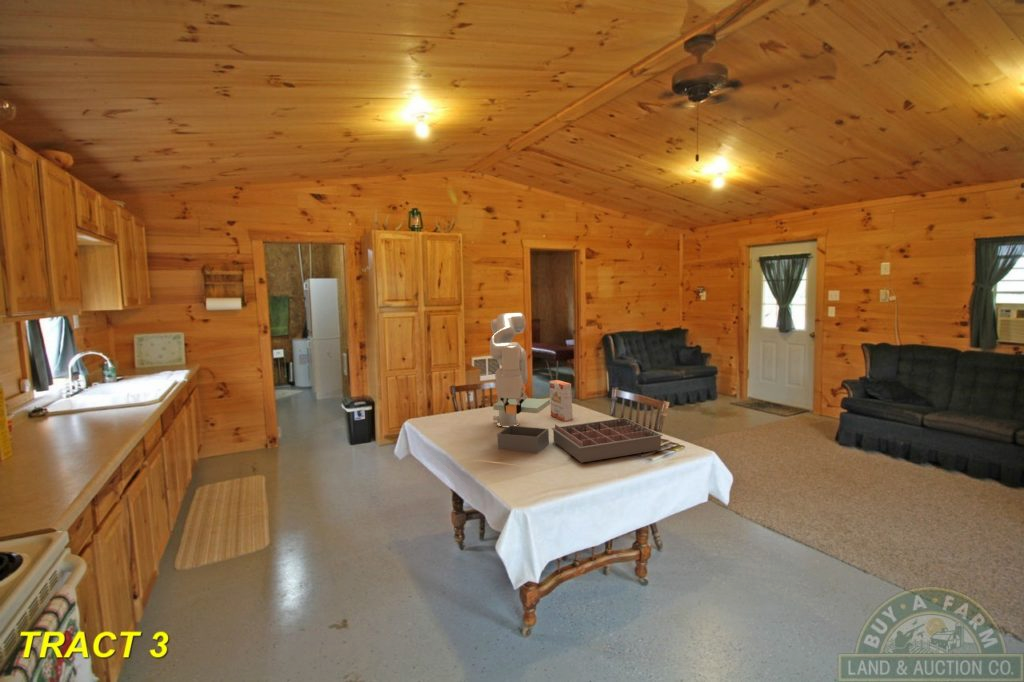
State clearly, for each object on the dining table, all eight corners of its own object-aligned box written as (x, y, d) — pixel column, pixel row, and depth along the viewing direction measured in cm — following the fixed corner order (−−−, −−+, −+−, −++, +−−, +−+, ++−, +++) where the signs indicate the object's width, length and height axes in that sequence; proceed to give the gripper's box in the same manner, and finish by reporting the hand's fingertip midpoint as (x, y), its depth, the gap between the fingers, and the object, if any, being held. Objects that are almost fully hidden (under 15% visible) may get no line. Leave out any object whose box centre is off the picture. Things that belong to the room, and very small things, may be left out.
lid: (489, 412, 226) (489, 404, 226) (508, 401, 244) (507, 394, 243) (533, 415, 217) (533, 408, 216) (549, 404, 235) (549, 397, 234)
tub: (498, 450, 232) (497, 433, 231) (510, 441, 244) (510, 425, 243) (538, 454, 223) (537, 437, 222) (549, 445, 236) (548, 428, 235)
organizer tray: (663, 452, 219) (663, 430, 218) (580, 466, 207) (579, 443, 206) (625, 433, 250) (625, 413, 248) (551, 444, 238) (550, 423, 237)
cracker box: (550, 416, 286) (548, 380, 284) (559, 414, 289) (557, 379, 287) (563, 421, 274) (562, 384, 272) (573, 420, 277) (571, 383, 274)
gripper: (490, 373, 221) (492, 413, 223) (525, 375, 214) (527, 416, 216) (497, 370, 228) (499, 409, 230) (532, 371, 221) (533, 411, 223)
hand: (513, 412), depth 223 cm, fingers closed on lid, 4 cm apart
